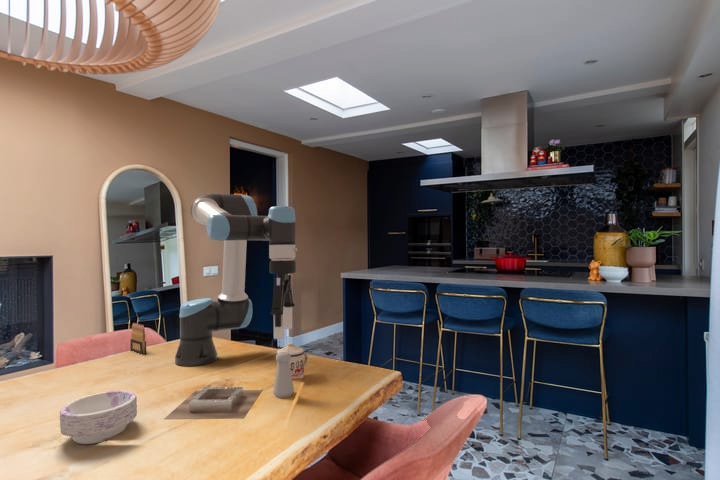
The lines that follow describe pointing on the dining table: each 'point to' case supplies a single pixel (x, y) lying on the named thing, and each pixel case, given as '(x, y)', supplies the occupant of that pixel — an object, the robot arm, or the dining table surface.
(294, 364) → the teacup with lid
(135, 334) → the brown flat upright block
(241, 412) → the walnut board
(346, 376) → the dining table surface
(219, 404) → the metal collar
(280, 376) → the salt shaker
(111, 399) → the paper bowls
